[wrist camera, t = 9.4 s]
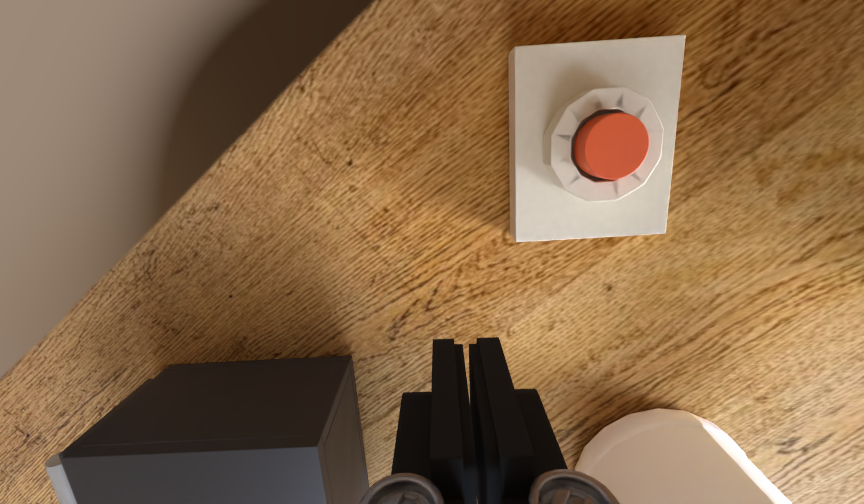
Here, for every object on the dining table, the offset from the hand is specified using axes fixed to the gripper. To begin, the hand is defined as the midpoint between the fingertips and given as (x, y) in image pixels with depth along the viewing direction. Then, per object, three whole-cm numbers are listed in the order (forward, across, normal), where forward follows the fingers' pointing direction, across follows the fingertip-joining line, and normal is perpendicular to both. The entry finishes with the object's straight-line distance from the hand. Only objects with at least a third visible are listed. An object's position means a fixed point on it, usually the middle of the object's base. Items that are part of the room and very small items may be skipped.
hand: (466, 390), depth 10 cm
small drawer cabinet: (+20, +15, +17) cm, 30 cm away
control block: (+20, -9, -5) cm, 22 cm away
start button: (+16, -9, -5) cm, 19 cm away
